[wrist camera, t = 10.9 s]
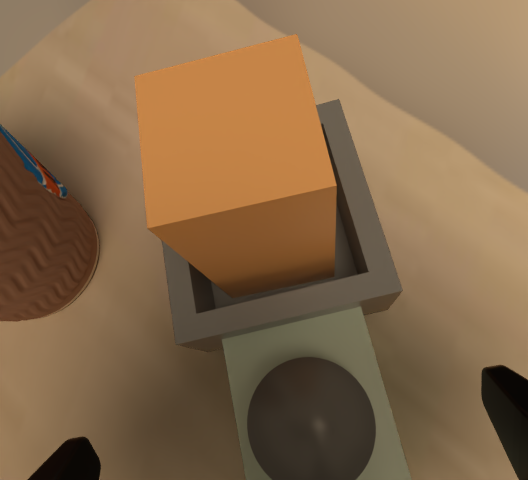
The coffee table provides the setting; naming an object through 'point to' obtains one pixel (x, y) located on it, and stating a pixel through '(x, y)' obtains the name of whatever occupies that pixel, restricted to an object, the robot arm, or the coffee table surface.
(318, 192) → the orange rectangular pillar
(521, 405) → the robot arm
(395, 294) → the grey tray
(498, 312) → the coffee table surface
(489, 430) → the coffee table surface
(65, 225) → the coffee cup
